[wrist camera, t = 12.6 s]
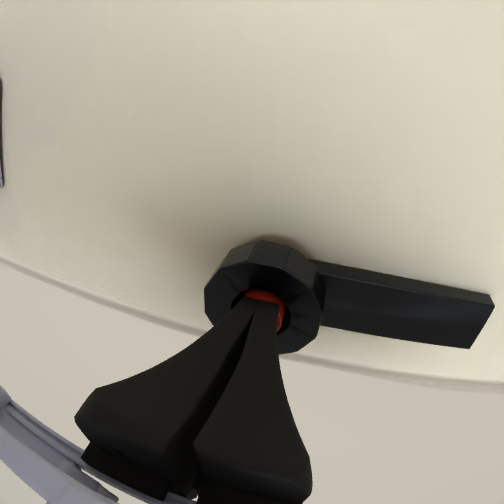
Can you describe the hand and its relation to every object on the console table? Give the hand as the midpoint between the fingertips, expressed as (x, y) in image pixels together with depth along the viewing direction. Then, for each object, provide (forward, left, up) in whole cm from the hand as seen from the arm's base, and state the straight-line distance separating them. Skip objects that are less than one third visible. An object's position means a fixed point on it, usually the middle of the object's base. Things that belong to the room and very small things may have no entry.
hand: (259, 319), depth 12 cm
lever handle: (+4, +1, -3) cm, 5 cm away
